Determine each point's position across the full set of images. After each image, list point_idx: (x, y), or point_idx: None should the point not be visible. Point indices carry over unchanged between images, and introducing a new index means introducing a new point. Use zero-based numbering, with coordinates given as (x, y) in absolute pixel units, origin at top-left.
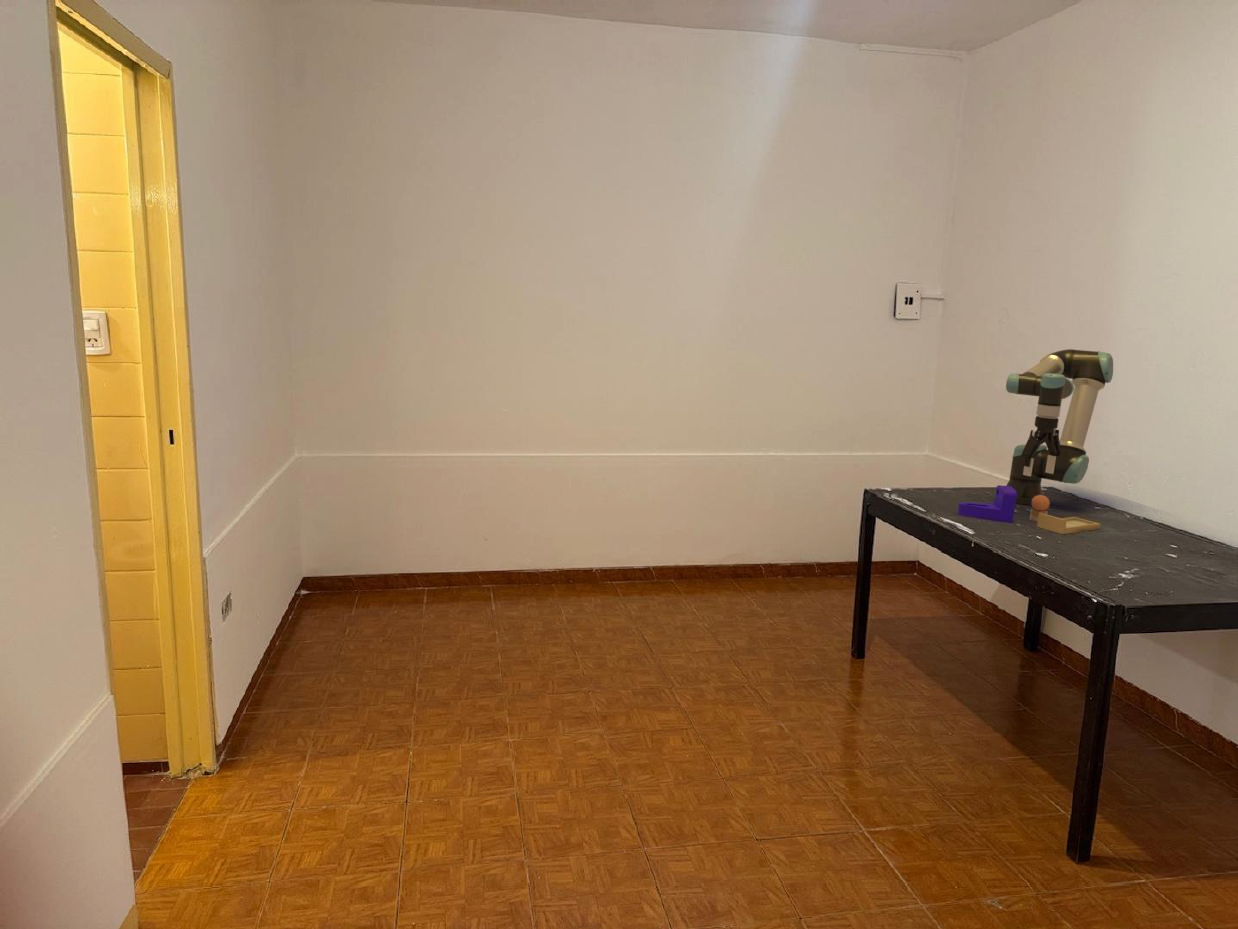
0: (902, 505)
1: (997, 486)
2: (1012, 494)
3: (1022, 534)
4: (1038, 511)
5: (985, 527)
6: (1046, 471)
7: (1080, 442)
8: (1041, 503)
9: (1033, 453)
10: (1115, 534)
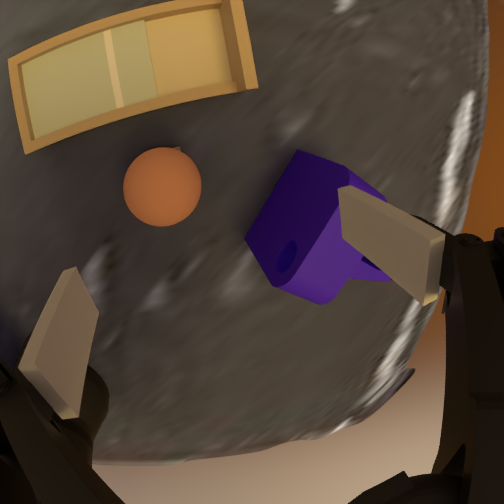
0: (425, 321)
1: (327, 299)
2: (360, 180)
3: (371, 36)
4: None
5: (416, 123)
6: (94, 310)
7: None
8: (186, 155)
9: (477, 264)
10: (21, 5)
